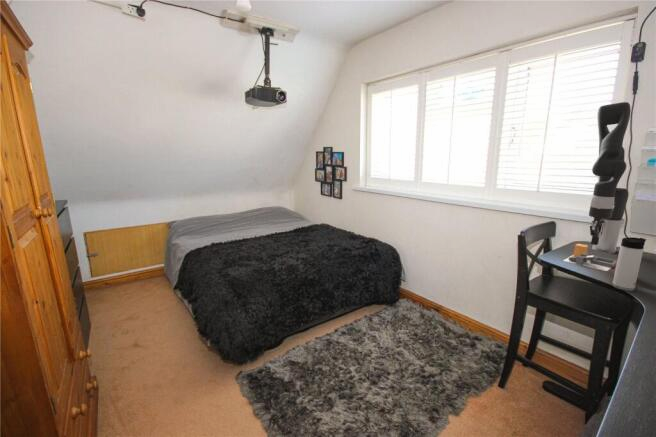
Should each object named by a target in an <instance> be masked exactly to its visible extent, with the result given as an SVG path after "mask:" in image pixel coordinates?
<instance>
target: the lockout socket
mask: <svg viewBox="0 0 656 437" xmlns="http://www.w3.org/2000/svg"><path fill="white" fill-rule="evenodd" d="M595 257H596V259H594V260H590V263H593V264H597V265H602V266H606V267H610V269H614V268H615V266H616V261H617V259H611V258H605V257H602V256H596V255H595ZM597 260H599V261H597ZM601 261H603V262H601ZM606 262H608V263H606ZM610 263H611V264H610Z"/></svg>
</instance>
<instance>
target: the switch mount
mask: <svg viewBox="0 0 656 437" xmlns="http://www.w3.org/2000/svg"><path fill="white" fill-rule="evenodd" d="M581 256H589V255H588V254H587V255H586V254H581ZM583 259H584V257H579V256H577V258H576V264H575V265H579V264H580V265H579V266H583V262H587V260H583Z"/></svg>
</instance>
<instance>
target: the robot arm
mask: <svg viewBox="0 0 656 437" xmlns="http://www.w3.org/2000/svg"><path fill="white" fill-rule="evenodd" d="M631 111H632V110H631V104H630V102H627V101H623V102H622V101H621V102H616V103H611V104H606V105H605V104H604V105H601V106H599V108H598V110H597V115H596V116H597V128H598V142H599V143H598V157H597V159H596V160H595V162H594V163H593V165H592V169H591V172H592V174H593V175H594V176H596V177H598V179H599V180H598V182H596V183H595V184H594V189H593V194H592V197H591V199H590V200H591V201H590V207H589V210H588V216H589V217H590V218H593V220H592V221H591V222H590V223H591V224H590V226H589V232H590V236H591V240H590V244H591V245H592V247H591V248H592V250H595V251H600V252H605V253H609V254H615V253H616V251H617V250H616V249H617V246H618V242H619V238H620V236H619V235H620V231H621V226H622V221H623V218H624V214H625V210H626V206H627V203H628V200H629V196H630V195H629V190H628V189H627V188H622V187H618V184H619V182H620V180H621V178H622V177H623V175H624V174H625V172H626V170H627V168H628V167H627V163H626V161H625V155H626V154H625V153H626V152H625V148H624V146H623V142H624V138H625V136H626V131H627V129H628V125H629V121H630V118H631ZM611 125H616V126H615V127H614V128H613V129H612V130H611V131H610V130H609V126H611Z"/></svg>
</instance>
